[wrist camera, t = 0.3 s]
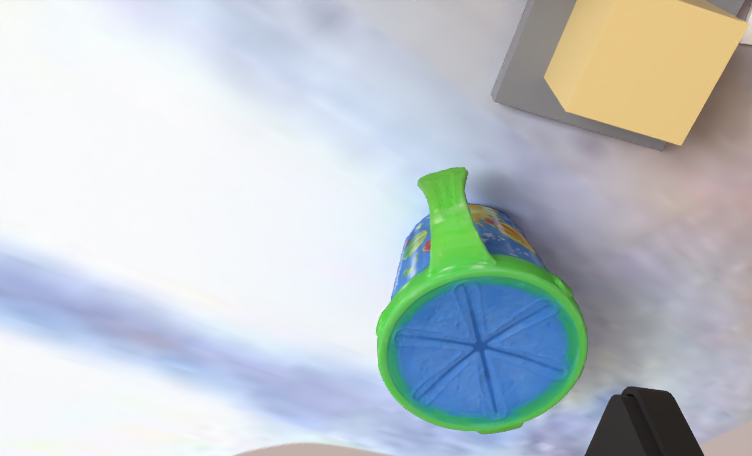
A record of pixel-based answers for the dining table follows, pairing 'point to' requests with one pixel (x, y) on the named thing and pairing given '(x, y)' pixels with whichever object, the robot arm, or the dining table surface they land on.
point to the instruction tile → (748, 29)
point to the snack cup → (476, 319)
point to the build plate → (620, 64)
